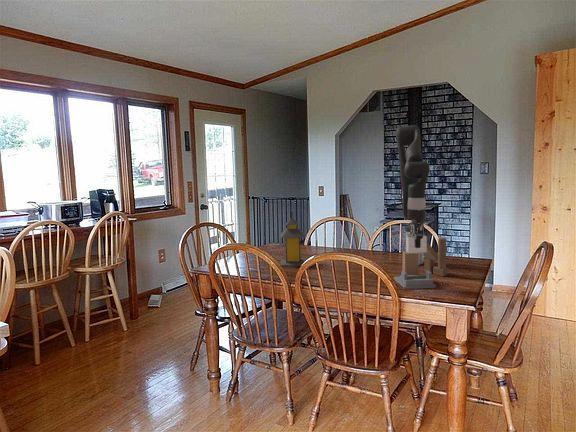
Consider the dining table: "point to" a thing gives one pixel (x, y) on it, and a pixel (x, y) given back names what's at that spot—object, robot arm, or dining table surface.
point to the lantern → (292, 243)
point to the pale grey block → (411, 244)
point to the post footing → (413, 273)
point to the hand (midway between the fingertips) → (416, 246)
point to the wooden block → (432, 256)
